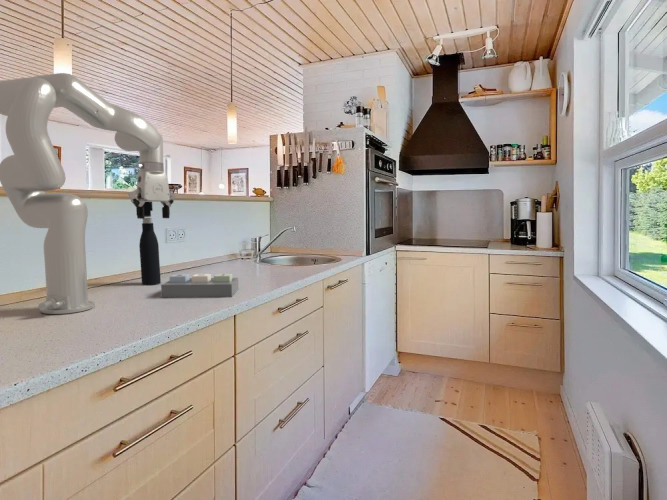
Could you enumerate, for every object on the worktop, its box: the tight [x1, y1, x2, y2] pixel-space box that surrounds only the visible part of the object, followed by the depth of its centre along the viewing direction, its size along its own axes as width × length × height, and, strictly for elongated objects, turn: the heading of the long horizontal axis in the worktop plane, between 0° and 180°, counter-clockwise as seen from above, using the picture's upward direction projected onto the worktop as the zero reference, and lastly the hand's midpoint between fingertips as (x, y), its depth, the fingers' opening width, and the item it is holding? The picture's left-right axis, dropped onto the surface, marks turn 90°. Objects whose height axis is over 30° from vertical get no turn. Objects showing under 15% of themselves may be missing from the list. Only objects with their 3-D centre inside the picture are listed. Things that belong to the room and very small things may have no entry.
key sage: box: [213, 273, 233, 283], centre depth 139 cm, size 5×5×3 cm
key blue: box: [168, 273, 191, 283], centre depth 138 cm, size 5×5×3 cm
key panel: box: [160, 277, 239, 299], centre depth 139 cm, size 13×22×4 cm, turn 94°
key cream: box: [191, 273, 212, 283], centre depth 138 cm, size 5×5×3 cm
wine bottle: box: [139, 201, 162, 286], centre depth 154 cm, size 6×6×30 cm
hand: (153, 218), depth 147 cm, fingers open, 9 cm apart
